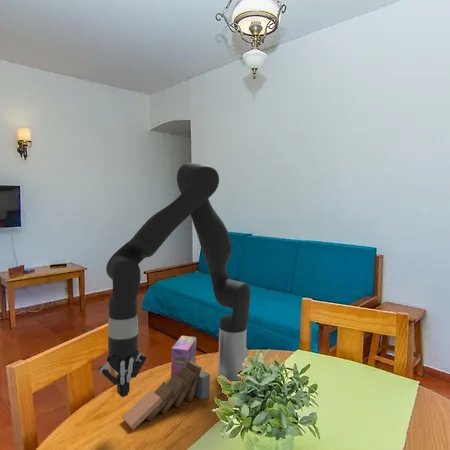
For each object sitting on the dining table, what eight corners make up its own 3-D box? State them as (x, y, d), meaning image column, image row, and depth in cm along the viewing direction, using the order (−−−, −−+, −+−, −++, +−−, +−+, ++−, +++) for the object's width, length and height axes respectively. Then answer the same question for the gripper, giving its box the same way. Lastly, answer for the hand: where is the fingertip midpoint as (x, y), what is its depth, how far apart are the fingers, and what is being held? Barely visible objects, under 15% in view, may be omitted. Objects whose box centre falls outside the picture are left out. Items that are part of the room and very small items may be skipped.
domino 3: (169, 399, 107) (185, 367, 110) (179, 407, 104) (195, 374, 107) (166, 398, 106) (182, 366, 110) (175, 406, 103) (192, 372, 106)
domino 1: (140, 413, 100) (166, 385, 106) (149, 421, 97) (176, 392, 102) (137, 409, 100) (163, 381, 105) (147, 418, 96) (173, 388, 102)
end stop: (193, 385, 115) (193, 364, 115) (209, 396, 110) (209, 374, 109) (185, 388, 113) (186, 367, 113) (201, 399, 108) (202, 377, 107)
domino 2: (155, 406, 104) (177, 376, 108) (164, 414, 100) (187, 383, 105) (152, 403, 103) (174, 373, 108) (161, 411, 99) (184, 380, 104)
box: (187, 384, 116) (187, 349, 115) (170, 382, 117) (171, 347, 116) (196, 369, 126) (196, 337, 125) (180, 367, 127) (181, 335, 126)
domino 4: (182, 393, 111) (191, 361, 112) (192, 400, 107) (201, 367, 108) (178, 393, 110) (187, 360, 111) (188, 400, 106) (197, 367, 107)
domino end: (124, 420, 97) (152, 393, 103) (133, 430, 93) (162, 401, 99) (121, 416, 96) (150, 389, 102) (130, 426, 93) (160, 397, 99)
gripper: (105, 344, 85) (106, 412, 87) (153, 329, 94) (152, 391, 96) (92, 334, 90) (93, 398, 92) (138, 321, 99) (138, 380, 101)
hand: (123, 395), depth 94 cm, fingers closed
